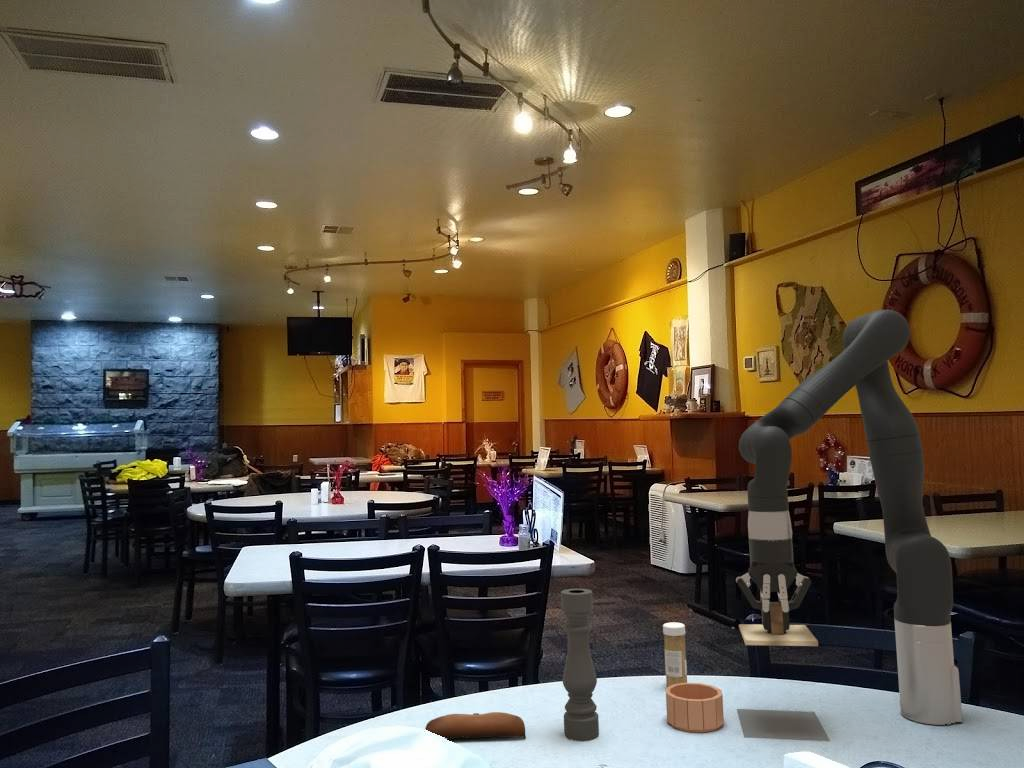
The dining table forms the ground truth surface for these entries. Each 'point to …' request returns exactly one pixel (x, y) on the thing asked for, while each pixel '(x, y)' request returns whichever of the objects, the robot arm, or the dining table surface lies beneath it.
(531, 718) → the dining table surface
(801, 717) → the rubber mat
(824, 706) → the dining table surface
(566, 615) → the candle holder
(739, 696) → the dining table surface
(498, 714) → the sunglasses case
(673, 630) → the sprinkles bottle
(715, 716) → the wooden bowl
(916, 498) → the robot arm
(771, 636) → the birch cover
